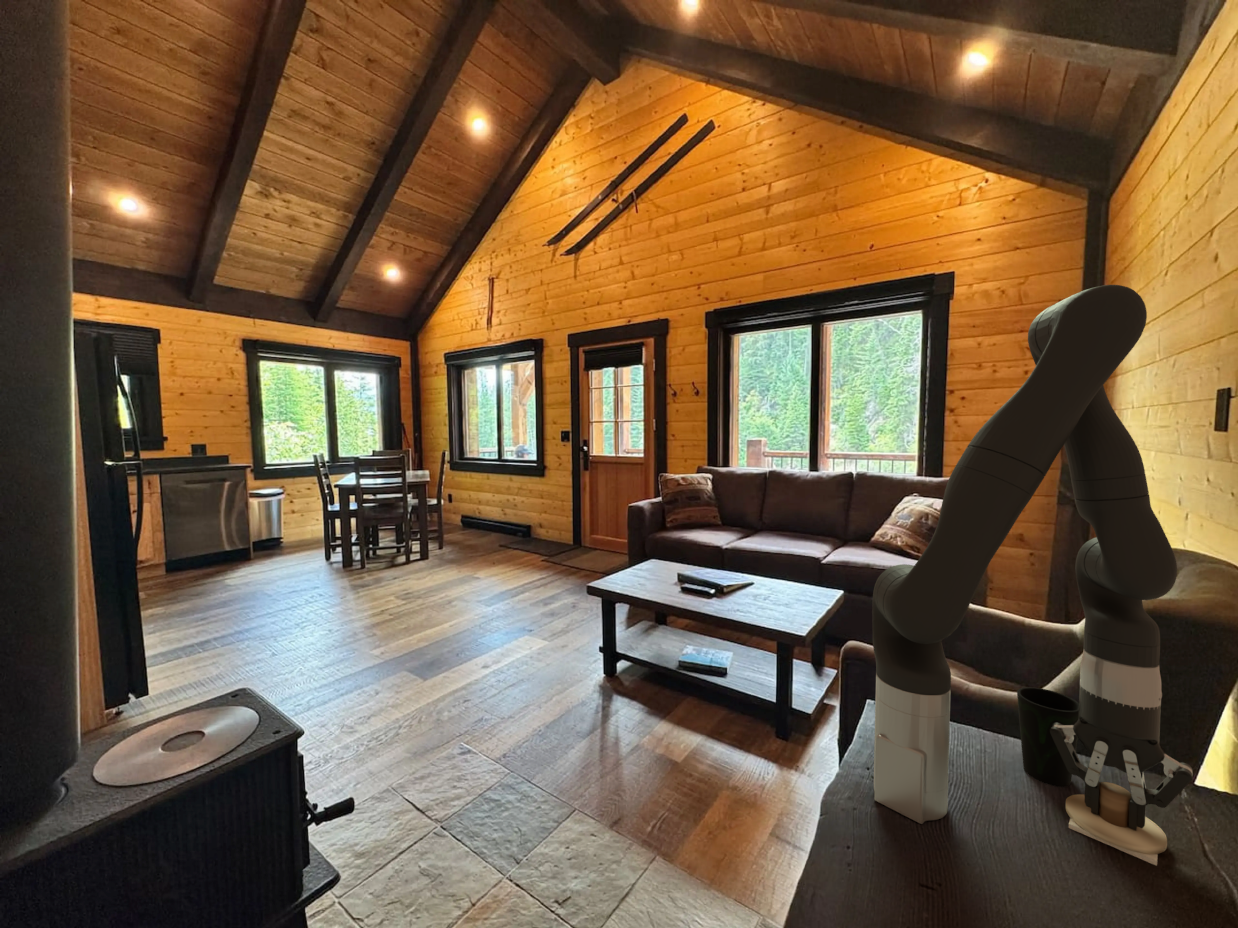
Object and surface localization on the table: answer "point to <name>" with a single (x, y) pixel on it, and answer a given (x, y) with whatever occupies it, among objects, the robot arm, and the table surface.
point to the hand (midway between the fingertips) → (1114, 818)
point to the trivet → (1146, 857)
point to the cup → (1044, 733)
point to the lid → (1116, 821)
